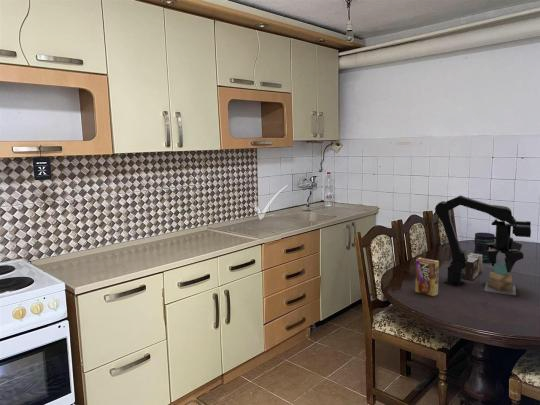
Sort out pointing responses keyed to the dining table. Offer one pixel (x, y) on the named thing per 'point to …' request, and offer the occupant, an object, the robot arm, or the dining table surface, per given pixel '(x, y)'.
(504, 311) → the dining table surface
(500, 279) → the oak top block
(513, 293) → the grey square tile
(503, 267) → the teal block
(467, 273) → the coffee box
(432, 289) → the candy box
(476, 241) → the storage jar
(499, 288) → the walnut base block
